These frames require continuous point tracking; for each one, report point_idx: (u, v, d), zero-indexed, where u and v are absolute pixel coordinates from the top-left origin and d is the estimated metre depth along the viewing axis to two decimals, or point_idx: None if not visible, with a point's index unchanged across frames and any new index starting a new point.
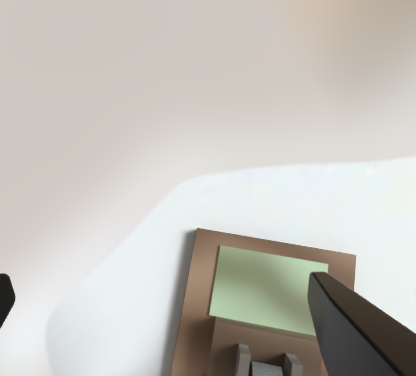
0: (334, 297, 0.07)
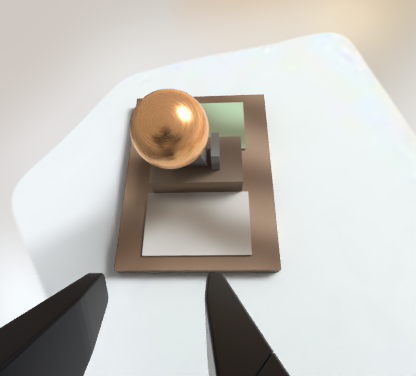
0: (209, 297, 0.07)
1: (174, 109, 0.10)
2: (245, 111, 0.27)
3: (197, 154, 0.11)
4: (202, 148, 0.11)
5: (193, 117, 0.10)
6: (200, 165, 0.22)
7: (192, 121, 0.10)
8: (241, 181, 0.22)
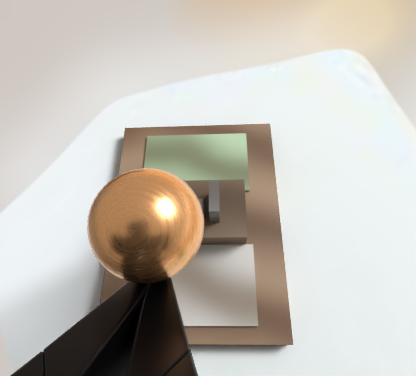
0: (147, 298, 0.07)
1: (150, 211, 0.07)
2: (248, 144, 0.24)
3: (186, 264, 0.08)
4: (194, 255, 0.08)
5: (179, 219, 0.07)
6: None
7: (178, 227, 0.07)
8: (245, 236, 0.18)
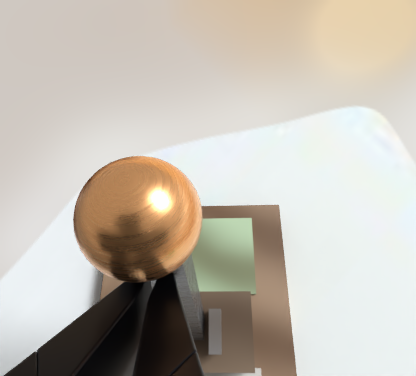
0: (152, 298, 0.07)
1: (147, 167, 0.06)
2: (254, 232, 0.20)
3: (179, 249, 0.06)
4: (189, 241, 0.07)
5: (176, 183, 0.06)
6: (193, 336, 0.15)
7: (174, 188, 0.06)
8: (252, 372, 0.15)
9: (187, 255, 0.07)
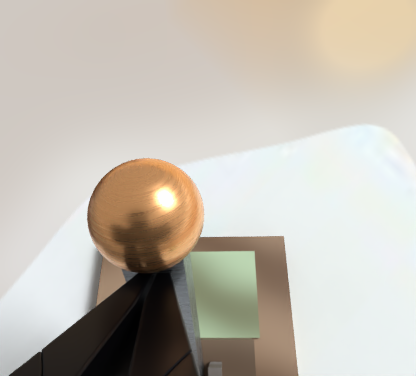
0: (148, 297, 0.07)
1: (157, 162, 0.07)
2: (257, 266, 0.19)
3: (183, 233, 0.07)
4: (191, 228, 0.07)
5: (182, 177, 0.07)
6: None
7: (180, 179, 0.07)
8: None
9: (189, 244, 0.07)
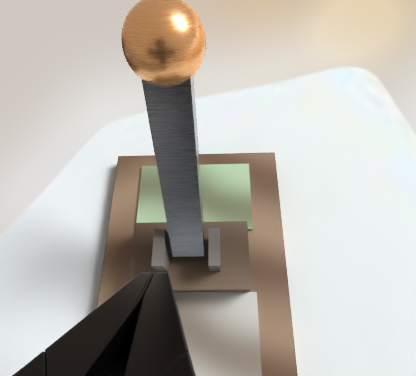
0: (146, 298, 0.07)
1: None
2: (251, 176, 0.22)
3: (191, 38, 0.10)
4: (197, 39, 0.10)
5: (190, 7, 0.10)
6: (194, 247, 0.16)
7: (188, 6, 0.10)
8: (248, 288, 0.17)
9: (195, 53, 0.10)
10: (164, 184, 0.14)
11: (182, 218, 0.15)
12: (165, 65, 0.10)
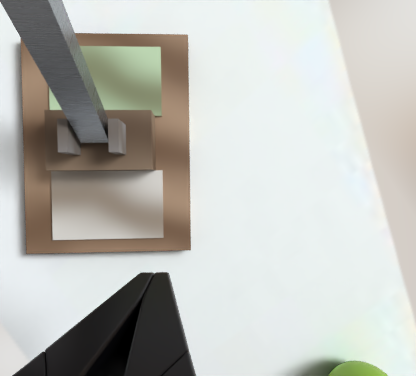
0: (146, 298, 0.07)
1: None
2: (163, 61, 0.22)
3: None
4: None
5: None
6: (98, 135, 0.18)
7: None
8: (150, 168, 0.20)
9: None
10: (49, 80, 0.15)
11: (78, 110, 0.17)
12: None
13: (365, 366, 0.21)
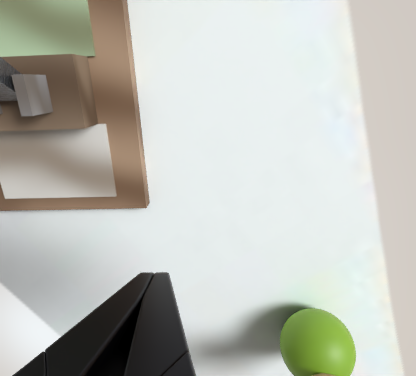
0: (146, 297, 0.07)
1: None
2: None
3: None
4: None
5: None
6: (8, 94, 0.15)
7: None
8: (83, 127, 0.17)
9: None
10: None
11: None
12: None
13: (321, 317, 0.22)
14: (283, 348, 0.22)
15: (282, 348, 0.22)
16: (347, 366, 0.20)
